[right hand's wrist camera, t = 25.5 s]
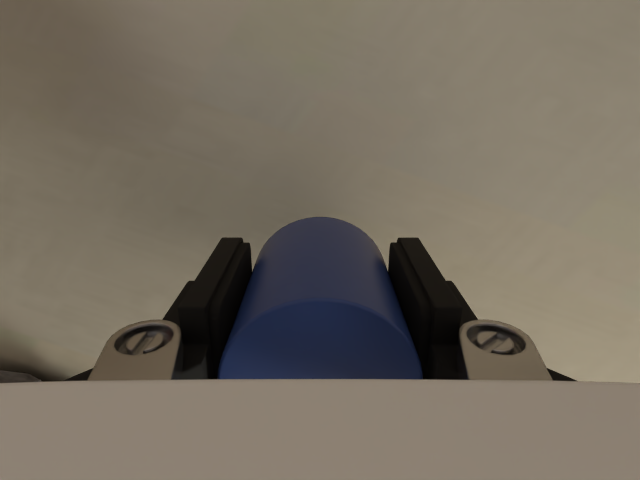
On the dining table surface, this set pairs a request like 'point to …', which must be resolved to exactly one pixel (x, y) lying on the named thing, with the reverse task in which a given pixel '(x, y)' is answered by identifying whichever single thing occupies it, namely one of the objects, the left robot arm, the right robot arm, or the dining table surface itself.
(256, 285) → the canister
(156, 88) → the dining table surface
